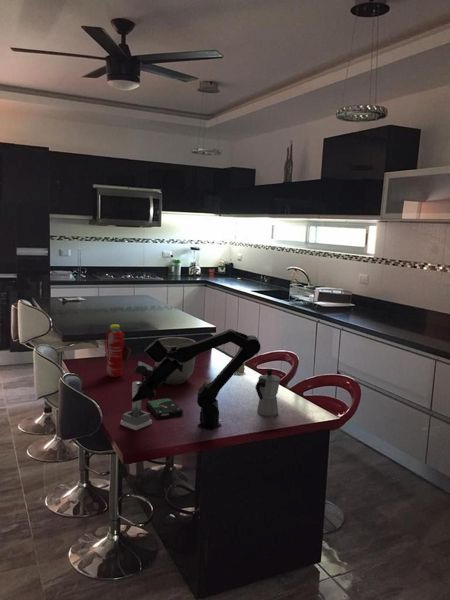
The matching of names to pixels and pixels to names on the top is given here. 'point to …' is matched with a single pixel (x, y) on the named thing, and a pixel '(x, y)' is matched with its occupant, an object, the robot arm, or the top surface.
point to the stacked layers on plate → (241, 369)
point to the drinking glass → (138, 404)
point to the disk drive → (164, 408)
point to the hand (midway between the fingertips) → (133, 399)
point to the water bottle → (115, 351)
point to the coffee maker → (267, 394)
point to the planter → (187, 367)
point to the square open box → (136, 420)
